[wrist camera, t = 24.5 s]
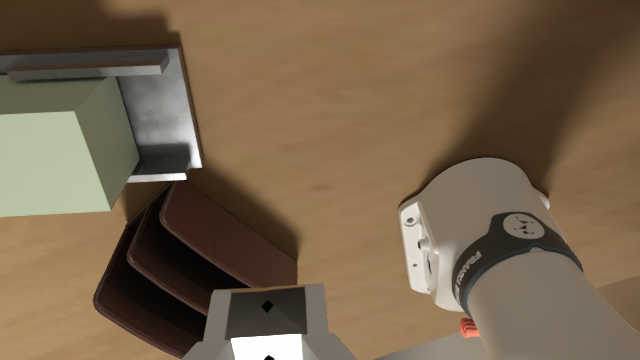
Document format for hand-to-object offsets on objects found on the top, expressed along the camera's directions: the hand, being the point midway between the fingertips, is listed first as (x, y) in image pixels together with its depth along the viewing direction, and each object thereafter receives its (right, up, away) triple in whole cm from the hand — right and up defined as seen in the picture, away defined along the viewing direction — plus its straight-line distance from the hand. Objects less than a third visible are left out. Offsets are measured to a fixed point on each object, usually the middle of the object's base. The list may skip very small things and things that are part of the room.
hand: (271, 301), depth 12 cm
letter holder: (-12, -4, +44) cm, 46 cm away
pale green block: (-24, +9, +31) cm, 40 cm away
